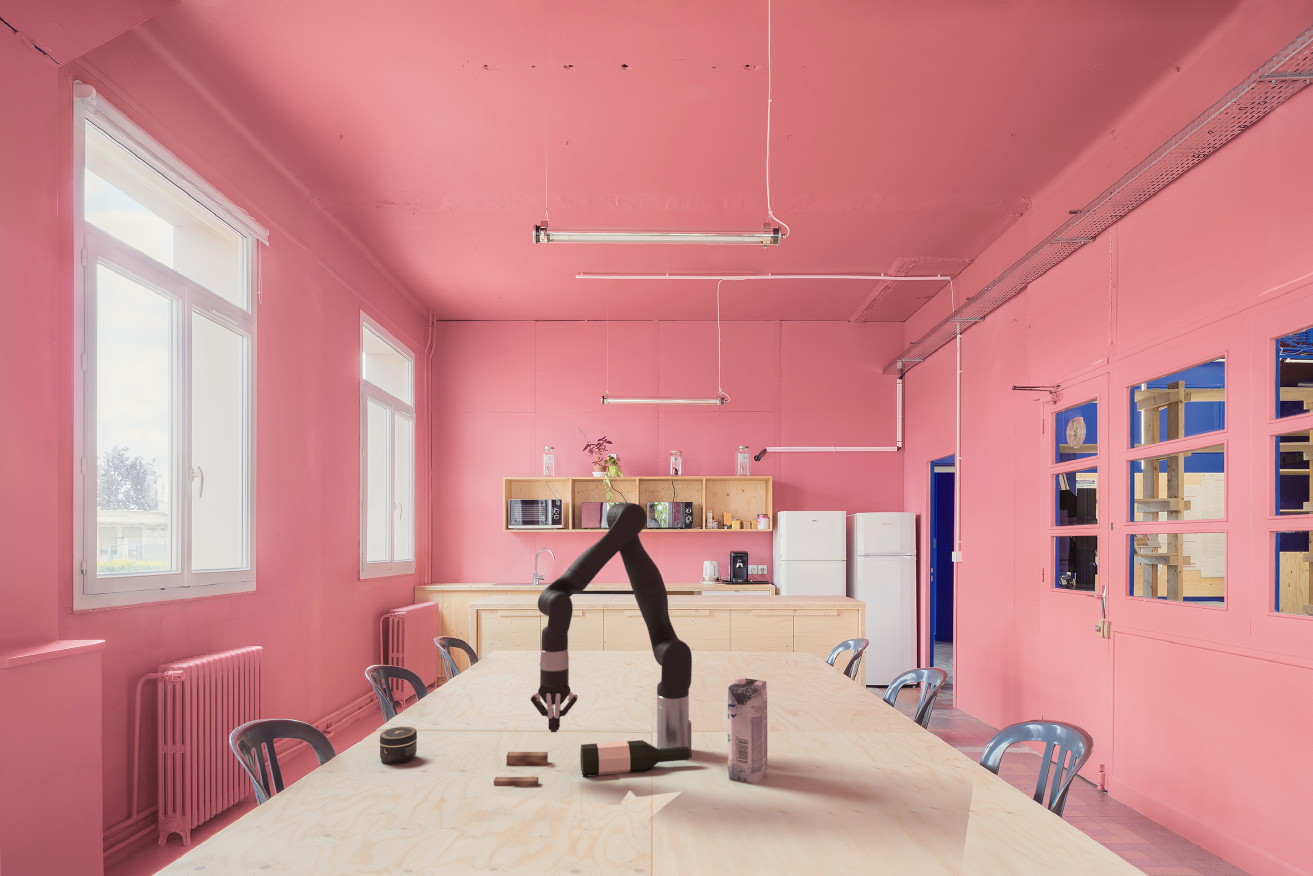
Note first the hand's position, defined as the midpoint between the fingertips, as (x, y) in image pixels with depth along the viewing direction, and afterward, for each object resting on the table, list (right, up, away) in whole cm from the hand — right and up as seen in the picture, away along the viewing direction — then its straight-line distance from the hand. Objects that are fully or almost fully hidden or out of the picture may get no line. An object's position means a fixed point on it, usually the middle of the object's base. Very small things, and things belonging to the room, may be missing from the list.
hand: (554, 731), depth 201 cm
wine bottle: (+7, -8, +1) cm, 11 cm away
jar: (-46, -13, +12) cm, 49 cm away
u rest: (-8, -12, 0) cm, 15 cm away
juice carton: (+51, -12, -3) cm, 53 cm away
